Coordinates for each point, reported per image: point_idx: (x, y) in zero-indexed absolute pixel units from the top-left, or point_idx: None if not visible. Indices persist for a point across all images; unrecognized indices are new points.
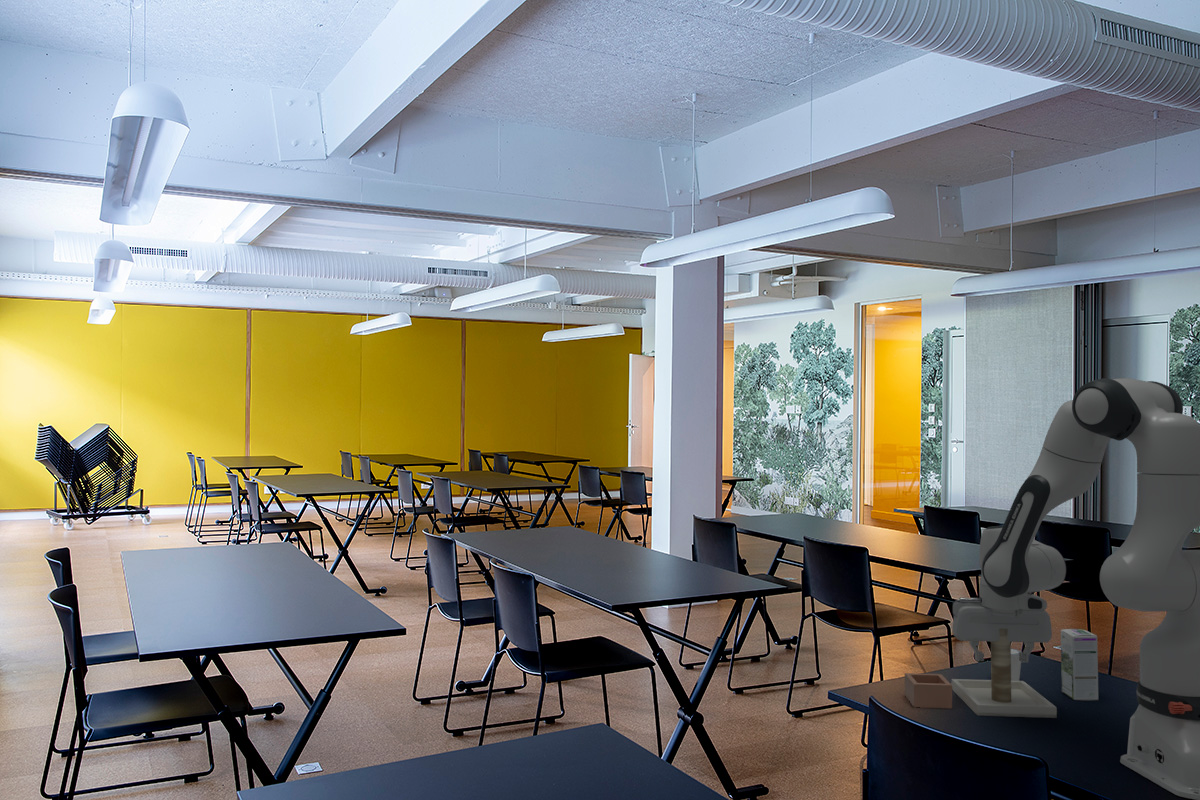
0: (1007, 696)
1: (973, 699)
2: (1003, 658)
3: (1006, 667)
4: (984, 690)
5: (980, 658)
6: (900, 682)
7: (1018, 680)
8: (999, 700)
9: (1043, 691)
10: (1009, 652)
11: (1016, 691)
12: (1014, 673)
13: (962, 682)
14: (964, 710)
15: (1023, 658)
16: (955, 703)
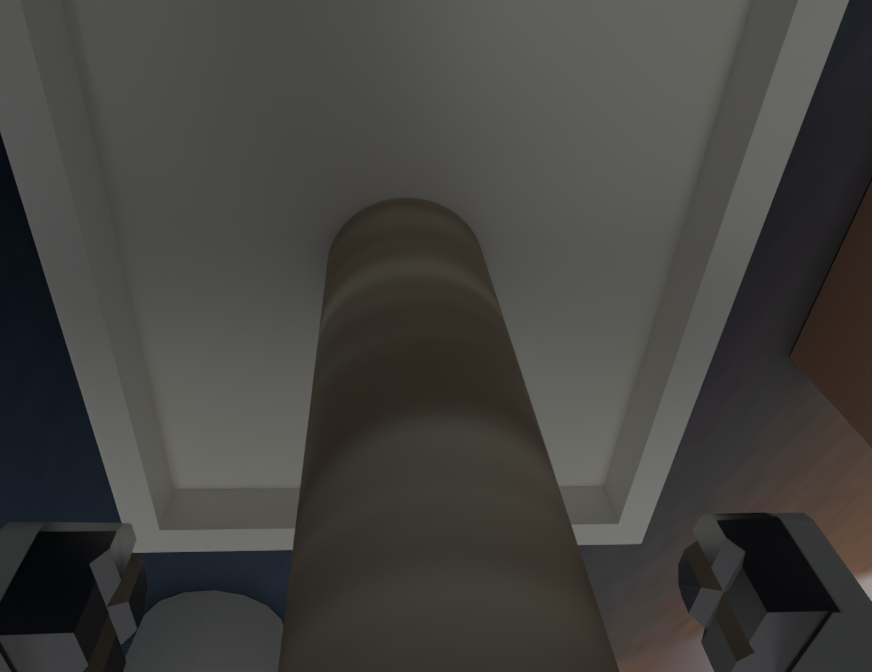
0: (384, 223)
1: (800, 82)
2: (465, 513)
3: (402, 406)
4: None
5: (780, 540)
6: (850, 553)
7: (146, 619)
8: (452, 215)
9: (12, 494)
10: (331, 644)
11: (217, 449)
12: (162, 652)
13: (579, 513)
14: (839, 40)
15: (71, 568)
16: (788, 222)
